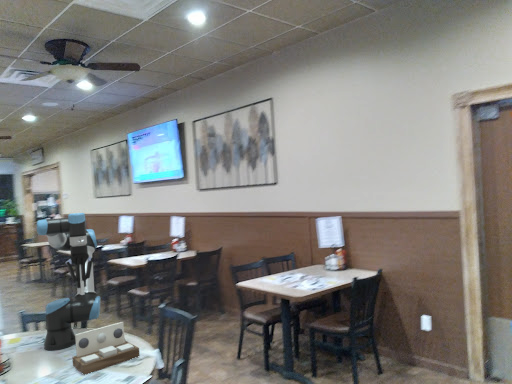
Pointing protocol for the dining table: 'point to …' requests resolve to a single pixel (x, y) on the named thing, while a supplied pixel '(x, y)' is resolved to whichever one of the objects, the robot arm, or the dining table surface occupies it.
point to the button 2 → (125, 347)
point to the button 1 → (89, 358)
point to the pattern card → (99, 339)
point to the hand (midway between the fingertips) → (82, 294)
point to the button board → (105, 360)
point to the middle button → (107, 351)
